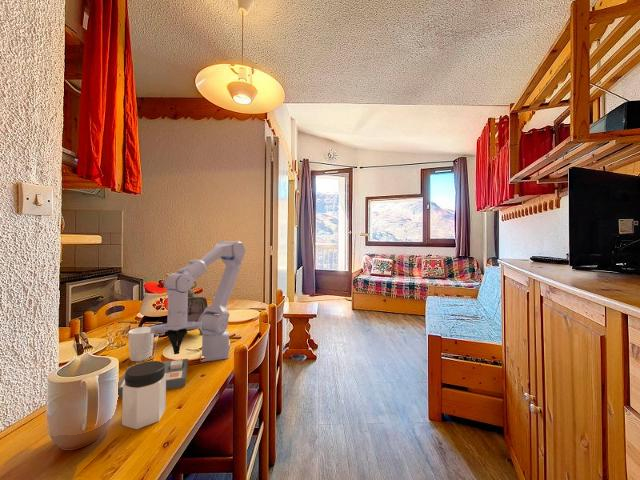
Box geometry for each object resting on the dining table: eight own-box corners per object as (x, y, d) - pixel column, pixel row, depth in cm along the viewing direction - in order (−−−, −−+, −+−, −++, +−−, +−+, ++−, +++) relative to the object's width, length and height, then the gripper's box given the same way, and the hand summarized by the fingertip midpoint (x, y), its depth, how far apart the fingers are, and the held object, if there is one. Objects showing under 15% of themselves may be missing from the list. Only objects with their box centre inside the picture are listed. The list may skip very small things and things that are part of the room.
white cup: (141, 363, 94) (141, 334, 94) (122, 361, 96) (122, 332, 96) (158, 354, 102) (159, 327, 102) (141, 352, 104) (141, 325, 104)
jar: (113, 424, 63) (115, 372, 63) (145, 404, 71) (146, 358, 71) (142, 433, 61) (144, 379, 61) (172, 411, 69) (173, 363, 69)
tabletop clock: (172, 342, 114) (173, 282, 114) (166, 336, 120) (167, 280, 120) (207, 334, 124) (208, 279, 124) (199, 329, 130) (201, 277, 130)
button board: (187, 365, 93) (187, 357, 93) (184, 386, 80) (185, 377, 80) (128, 374, 86) (128, 365, 86) (114, 398, 74) (115, 388, 74)
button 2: (182, 366, 89) (182, 359, 89) (181, 370, 86) (181, 363, 86) (171, 367, 88) (171, 361, 88) (170, 372, 85) (170, 365, 85)
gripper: (149, 315, 81) (147, 361, 81) (202, 311, 86) (201, 354, 86) (153, 310, 87) (152, 352, 87) (202, 306, 93) (201, 346, 93)
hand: (176, 352), depth 87 cm, fingers closed
